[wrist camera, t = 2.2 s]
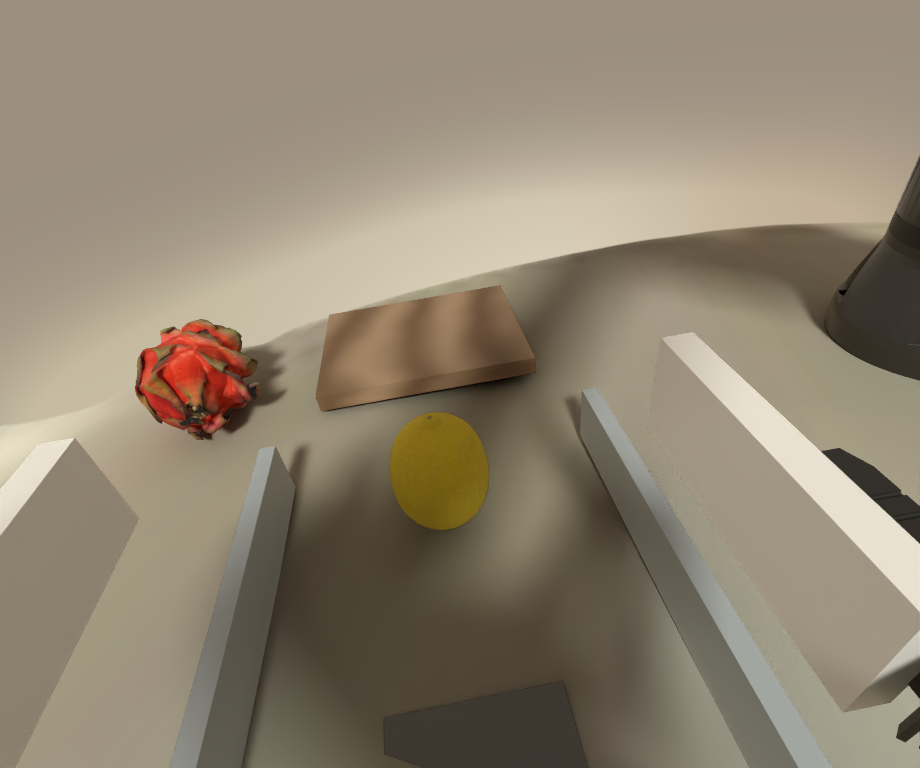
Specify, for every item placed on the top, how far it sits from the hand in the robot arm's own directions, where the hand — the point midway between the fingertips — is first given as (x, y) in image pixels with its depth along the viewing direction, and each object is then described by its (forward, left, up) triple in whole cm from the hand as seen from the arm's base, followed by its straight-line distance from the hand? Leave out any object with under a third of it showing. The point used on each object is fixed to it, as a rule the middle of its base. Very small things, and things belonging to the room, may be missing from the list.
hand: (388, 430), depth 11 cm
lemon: (0, -10, -17) cm, 20 cm away
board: (0, -30, -17) cm, 34 cm away
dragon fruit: (+17, -25, -17) cm, 35 cm away
